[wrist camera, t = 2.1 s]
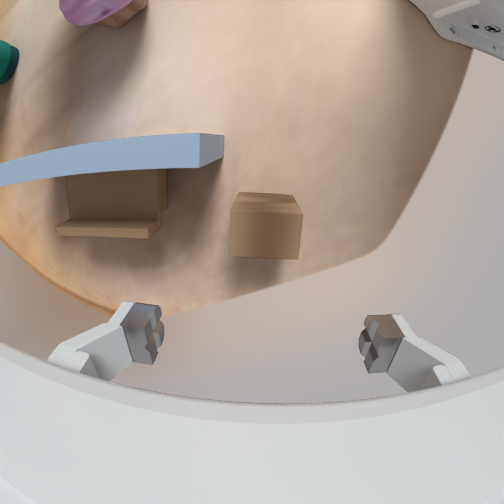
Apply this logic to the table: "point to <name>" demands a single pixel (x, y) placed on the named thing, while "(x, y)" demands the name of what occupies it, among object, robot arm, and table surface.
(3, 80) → the cup
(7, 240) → the table surface
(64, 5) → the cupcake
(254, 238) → the tan wooden cube
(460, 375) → the robot arm
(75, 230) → the wall board
